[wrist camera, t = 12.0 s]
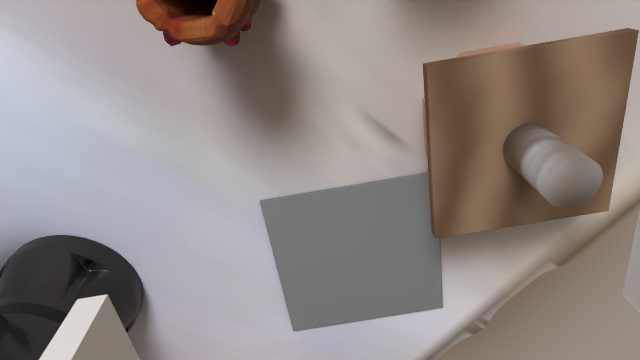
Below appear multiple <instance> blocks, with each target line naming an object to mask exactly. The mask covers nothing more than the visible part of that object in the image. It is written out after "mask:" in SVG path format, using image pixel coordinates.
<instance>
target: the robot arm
mask: <svg viewBox="0 0 640 360" xmlns="http://www.w3.org/2000/svg"><path fill="white" fill-rule="evenodd" d="M623 296H624V297H625V298H626V299H627V300H628V301H629V302H630V303H631V304H632V305H633V306H634V307H635V308H636V309H637V310H638V311H639V312H640V213H639V217H638V222H637V227H636V232H635V237H634V242H633V247H632V251H631V256H630V261H629V266H628V271H627V276H626V280H625V285H624V290H623ZM142 303H143V289H142V285H141V282H140V279H139V277H138V275H137V274H136V272H135V271H134V269H133V268H132V267H131V265H130V264H129V263H128V262H127V261H126V260H125V259H124V258H123V257H121V256H120V255H119V254H118V253H116V252H115V251H113V250H112V249H110V248H108V247H106V246H104V245H102V244H100V243H98V242H95V241H92V240H89V239H86V238H81V237H76V236H68V235H55V236H47V237H42V238H38V239H35V240H33V241H30V242H28V243H27V244H25V245H23V246H22V247H20V248H19V249H18V250H17V251H16V252H15V253H14V254H13V255H12V256H11V257H10V258H9V259H8V261H7V262H6V263H5V264H4V265H3V267H2V268H1V270H0V360H140V358H139V356H138V354H137V352H136V350H135V348H134V346H133V344H132V342H131V340H130V338H129V336H128V334H127V333H128V332H129V330H130V329H131V328H132V326H133V325H134V323H135V321H136V318H137V316H138V314H139V312H140V309H141V307H142Z"/></svg>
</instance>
